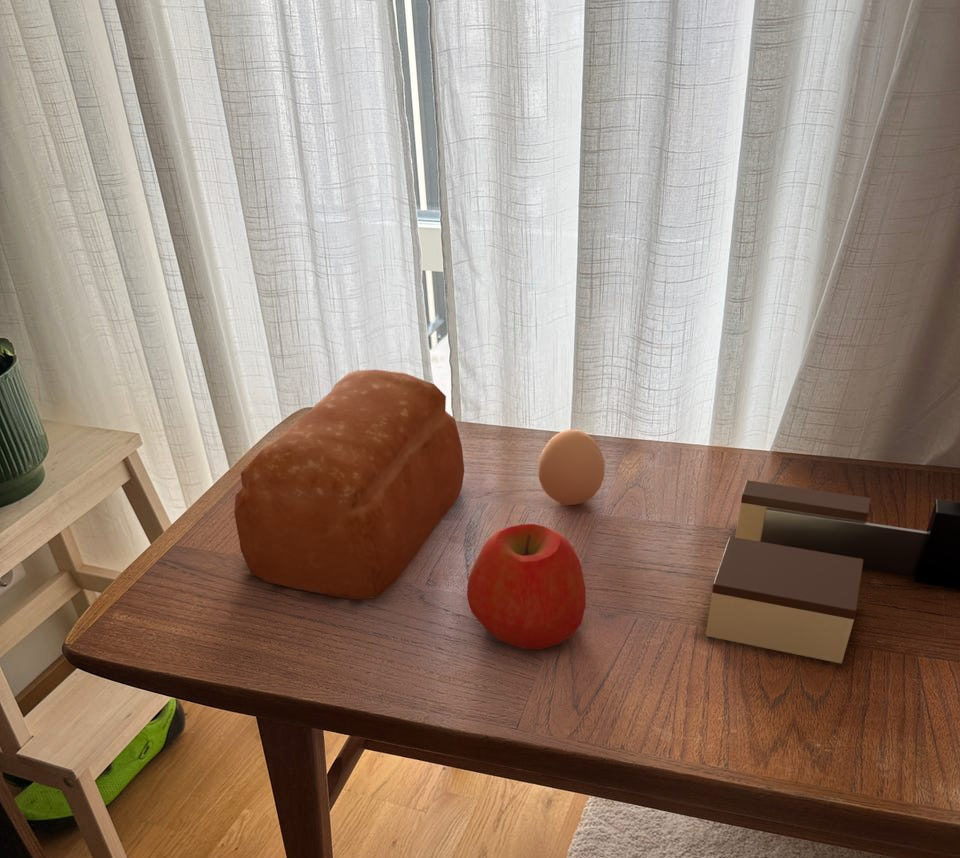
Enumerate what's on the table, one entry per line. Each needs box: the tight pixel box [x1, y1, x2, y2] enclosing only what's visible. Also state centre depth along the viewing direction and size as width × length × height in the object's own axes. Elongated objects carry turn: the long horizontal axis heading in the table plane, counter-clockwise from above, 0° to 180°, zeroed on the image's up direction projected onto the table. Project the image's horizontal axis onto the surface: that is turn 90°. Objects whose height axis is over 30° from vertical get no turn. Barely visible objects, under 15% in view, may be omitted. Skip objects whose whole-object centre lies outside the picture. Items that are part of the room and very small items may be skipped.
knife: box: [760, 498, 960, 590], centre depth 89 cm, size 22×2×8 cm, turn 70°
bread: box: [233, 369, 465, 600], centre depth 96 cm, size 17×24×15 cm
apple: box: [466, 523, 587, 650], centre depth 84 cm, size 11×11×11 cm
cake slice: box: [734, 479, 871, 542], centre depth 93 cm, size 12×3×6 cm, turn 69°
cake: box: [705, 536, 864, 664], centre depth 84 cm, size 12×8×6 cm, turn 68°
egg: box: [537, 429, 606, 506], centre depth 101 cm, size 7×7×8 cm
